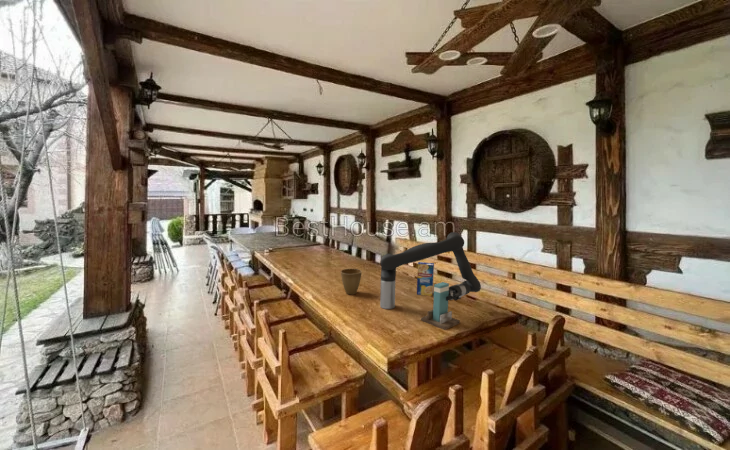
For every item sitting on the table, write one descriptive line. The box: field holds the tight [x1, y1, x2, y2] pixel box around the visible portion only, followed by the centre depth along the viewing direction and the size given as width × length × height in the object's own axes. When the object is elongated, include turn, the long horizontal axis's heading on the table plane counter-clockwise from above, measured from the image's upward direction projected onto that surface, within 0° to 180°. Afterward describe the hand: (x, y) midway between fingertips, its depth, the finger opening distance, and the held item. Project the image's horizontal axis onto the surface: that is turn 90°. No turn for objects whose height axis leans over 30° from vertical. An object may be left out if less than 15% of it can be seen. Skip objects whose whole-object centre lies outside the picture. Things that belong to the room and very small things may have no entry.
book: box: [432, 281, 450, 322], centre depth 174 cm, size 8×4×20 cm, turn 130°
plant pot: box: [340, 268, 363, 295], centre depth 223 cm, size 15×15×16 cm
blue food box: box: [416, 261, 435, 297], centre depth 223 cm, size 7×11×22 cm, turn 74°
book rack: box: [420, 309, 461, 331], centre depth 175 cm, size 14×16×6 cm
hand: (440, 296), depth 173 cm, fingers open, 8 cm apart
